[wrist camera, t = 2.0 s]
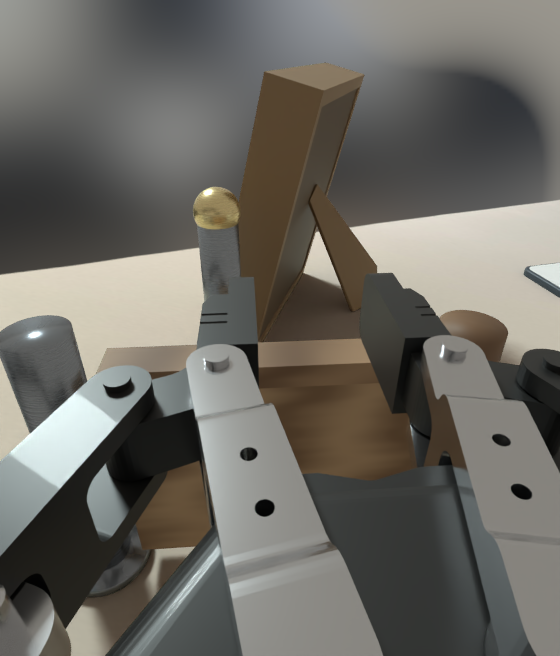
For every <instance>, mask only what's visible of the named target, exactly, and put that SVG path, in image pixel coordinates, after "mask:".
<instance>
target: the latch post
mask: <svg viewBox="0 0 560 656" xmlns="http://www.w3.org/2000/svg"><path fill="white" fill-rule="evenodd" d="M193 215H194V219H195V221H196V223H197V227H198V238H199V249H200V260H201V270H202V281H203V291H204V302H205V301H206V300H207V299H208V298H209V297H210V296H211V295H219V294H228V289H229V278H233V277H241V267H240V245H239V224H238V222H239V220H240V215H241V209H240V204H239V202H238V200H237V199H236V197H235V196H234V195H233V194H232V193H231V192H230V191H229V190H226V189H224V188H221V187H211V188H208V189H206V190H204V191H202V192H201V193H200V194H199V195H198V197H197V198H196V200H195V202H194V206H193Z"/></svg>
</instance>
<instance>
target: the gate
mask: <svg viewBox="0 0 560 656" xmlns="http://www.w3.org/2000/svg"><path fill="white" fill-rule="evenodd" d="M440 320H441V321H442V323H443V324H444V326H445V327H446V328H447V330H448V331H449V332H450V334H451V335H452V336H457V337H461V338H464V339H467V340H469V341H471V342H473V343H475V344H476V345H477V346H479V347H480V348H481V349H482V350H483V352H484V354H485V356H486V359H487V360H488V361H493V362H499V361H500V358H501V355H502V352H503V348H504V345H505V342H506V339H507V336H508V330H507V328H506V327H505V325H504V324H503V323H501V322H500V321H499V320H497V319H495V318H493V317H491V316H489V315H486V314H483V313H480V312H475V311H468V310H455V311H450V312H447V313H445V314H443V315H442V316H441V317H440ZM196 348H197V345H181V346H156V347H130V348H107V350H106V352H105V354H104V356H103V359H102V361H101V363H100V366H99V368H98V370H97V372H96V374H97V373H99V372H101V371H103V370H106V369H108V368H112V367H116V366H124V365H132V366H137V367H141V368H143V369H145V370H146V371H148V373H149V374H150V376H151V379H152V380H153V379H157V378H161V377H165V376H168V375H172V374H174V373H177V372H179V371H181V370H183V369H184V368H186V361H187V358H188V357H189V356H190V354H191V353H193V352H194V351H195V350H196ZM258 362H259V390H260V393H261V396H262V398H263V401H264V404H266V403H272V404H273V405H274V407H275V409H276V412H277V414H278V416H279V419H280V421H281V424H282V426H283V429H284V431H285V434H286V436H287V439H288V441H289V443H290V446H291V448H292V451H293V453H294V456H295V458H296V461H297V463H298V466H299V468H300V471H301V473H302V474H308V473H321V474H328V475H335V476H342V477H348V478H355V479H362V480H370V481H371V480H378V479H381V478H384V477H388V476H391V475H394V474H398V473H401V472H404V471H408V470H411V469H412V467H411V461H410V454H409V448H408V441H407V434H406V430H407V425H408V420H409V416H408V414H407V413H400V414H392V413H391V411H390V408H389V406H388V403H387V401H386V398H385V396H384V394H383V391H382V389H381V386H380V384H379V381H378V379H377V377H376V374H375V372H374V369H373V367H372V365H371V362H370V360H369V357H368V355H367V352H366V350H365V348H364V345H363V343H362V340H361V338H359V339H334V340H308V341H283V342H258ZM136 527H137V531H138V535H139V539H140V542H141V546H142V550H149V549H164V548H178V547H193V546H197V544H198V543H199V542H200V541H201V539H202V538H203V537H204V536H205V535H206V533H207V532H208V531H209V530H210V524H209V517H208V511H207V505H206V499H205V494H204V488H203V482H202V476H201V470H200V465H199V461H197V462H194V463H191V464H188V465H185V466H182V467H179V468H176V469H173V470H170V471H168V473H167V476H166V478H165V480H164V482H163V483H162V485H161V486H160V488H159V489H158V491H157V492H156V494H155V495H154V497H153V498H152V500H151V501H150V503H149V504H148V506H147V507H146V509H145V510H144V512H143V513H142V515H141V516H140V518H139V519H138V521H137V522H136Z"/></svg>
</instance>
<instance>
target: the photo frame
mask: <svg viewBox="0 0 560 656" xmlns="http://www.w3.org/2000/svg"><path fill="white" fill-rule="evenodd" d="M363 77H364V74H361V73H358V72H354V71H351V70H348V69H345V68H341V67H338V66H335V65H332V64H329V63H321V64H313V65H306V66H300V67H292V68H286V69H279V70H272V71H265V72H264V76H263V81H262V86H261V91H260V96H259V101H258V106H257V112H256V117H255V122H254V127H253V132H252V137H251V142H250V147H249V152H248V158H247V162H246V168H245V173H244V178H243V183H242V188H241V193H240V198H239V204H240V209H241V215H240V220H239V222H238V224H239V245H240V267H241V277H254V287H255V303H256V320H257V336H258V342H263V341H264V339H265V337H266V336H267V334H268V332H269V330H270V329H271V327H272V325H273V324H274V322H275V320H276V318H277V317H278V315H279V313H280V312H281V310H282V308H283V306H284V305H285V303H286V301H287V300H288V298H289V296H290V294H291V293H292V291H293V289H294V288H295V286H296V284H297V282H298V281H299V279H300V277H301V276H302V274H303V272H304V268H305V265H306V262H307V259H308V255H309V252H310V249H311V246H312V242H313V239H314V236H315V233H316V229H317V227H318V229H319V232H320V234H321V237H322V240H323V242H324V245H325V247H326V250H327V252H328V255H329V257H330V260H331V262H332V265H333V267H334V270H335V272H336V275H337V277H338V280H339V282H340V285H341V288H342V290H343V293H344V295H345V298H346V300H347V303H348V305H349V308H350V310H351V311H353V312H354V311H356V310H358V309H360V308H361V304H362V295H363V286H364V279H365V276H366V274H372V273H377V265H376V264H375V263H374V261H373V260H372V258H371V257H370V256H369V254H368V253H367V252H366V250H365V249H364V247H363V246H362V245H361V243H360V242H359V241H358V239H357V238H356V237H355V235H354V234H353V232H352V231H351V230H350V228H349V227H348V226H347V224H346V223H345V221H344V220H343V219H342V217H341V216H340V215H339V213H338V212H337V211H336V209H335V208H334V206H333V205H332V204H331V202H330V201H329V200H328V198H327V194H328V191H329V187H330V184H331V181H332V178H333V174H334V171H335V168H336V165H337V162H338V158H339V155H340V152H341V149H342V145H343V142H344V139H345V135H346V132H347V129H348V126H349V123H350V119H351V116H352V113H353V110H354V106H355V103H356V100H357V97H358V94H359V90H360V87H361V84H362V81H363Z"/></svg>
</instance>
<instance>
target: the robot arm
mask: <svg viewBox="0 0 560 656" xmlns="http://www.w3.org/2000/svg"><path fill="white" fill-rule="evenodd" d="M360 336H361V340H362V343H363V345H364V348H365V350H366V352H367V355H368V357H369V360H370V362H371V365H372V367H373V369H374V372H375V374H376V377H377V379H378V381H379V384H380V386H381V389H382V391H383V394H384V396H385V398H386V401H387V403H388V406H389V408H390V411H391V413H392V414H400V413H407V414H408V416H409V420H408V425H407V430H406V434H407V441H408V448H409V454H410V461H411V467H412V469H411V470H408V471H404V472H401V473H398V474H394V475H391V476H388V477H384V478H381V479H378V480H371V481H370V480H362V479H355V478H348V477H342V476H335V475H328V474H321V473H308V474H302V473H301V471H300V468H299V466H298V463H297V461H296V458H295V456H294V453H293V451H292V448H291V446H290V443H289V441H288V439H287V436H286V434H285V431H284V429H283V426H282V424H281V421H280V419H279V416H278V414H277V412H276V409H275V407H274V405H273V404H272V403H266V404H264V401H263V398H262V396H261V393H260V390H259V362H258V336H257V320H256V303H255V287H254V277H233V278H229V289H228V294H219V295H211V296H210V297H209V298H208V299H207V300H206V301H205V302H204V303H203V305H202V312H201V319H200V326H199V334H198V341H197V348H196V350H195V351H194V352H193V353H191V354H190V356H189V357H188V358H187V361H186V368H184V369H183V370H181V371H179V372H177V373H174V374H172V375H168V376H165V377H161V378H157V379H153V380H152V379H151V376H150V374H149V373H148V371H146V370H145V369H143V368H141V367H137V366H132V365H124V366H116V367H112V368H108V369H106V370H103V371H101V372H99V373H97V374H96V375H94V376H93V377H92V378H90V379H89V380H88V381H87V382H86V383H85V384H84V385H83V386H82V387H81V388H80V389H78V390H77V391H76V392H75V393H74V394H73V395H72V396H71V397H70V398H69V399H68V400H66V401H65V402H64V403H63V404H62V405H61V406H60V407H59V408H58V409H57V410H56V411H54V412H53V413H52V414H51V415H50V416H49V417H48V418H47V419H46V420H45V421H44V422H42V423H41V424H40V425H39V426H38V427H37V428H36V429H35V430H34V431H33V432H32V433H30V434H29V435H28V436H27V437H26V438H25V439H24V440H23V441H22V442H21V443H20V444H18V445H17V446H16V447H15V448H14V449H13V450H12V451H11V452H10V453H9V454H8V455H6V456H5V457H4V458H3V459H2V460H1V461H0V656H71V643H70V639H69V636H68V633H67V631H66V628H67V626H68V625H69V623H70V622H71V620H72V619H73V617H74V616H75V614H76V612H77V611H78V609H79V608H80V606H81V605H82V603H83V602H84V600H85V599H86V597H87V596H88V594H89V593H90V591H91V590H92V588H93V587H94V585H95V584H96V582H97V581H98V579H99V578H100V576H101V575H102V573H103V572H104V570H105V569H106V567H107V566H108V564H109V563H110V561H111V560H112V558H113V557H114V555H115V554H116V552H117V551H118V549H119V548H120V546H121V545H122V543H123V542H124V540H125V539H126V537H127V536H128V534H129V533H130V531H131V530H132V528H133V527H134V525H135V524H136V522H137V521H138V519H139V518H140V516H141V515H142V513H143V512H144V510H145V509H146V507H147V506H148V504H149V503H150V501H151V500H152V498H153V497H154V495H155V494H156V492H157V491H158V489H159V488H160V486H161V485H162V483H163V482H164V480H165V478H166V476H167V473H168V471H170V470H173V469H176V468H179V467H182V466H185V465H188V464H191V463H194V462H197V461H199V465H200V470H201V476H202V482H203V488H204V494H205V499H206V505H207V511H208V517H209V524H210V530H209V531H208V532H207V533H206V535H205V536H204V537H203V538H202V539H201V541H200V542H199V543H198V544H197V546H196V547H195V548H194V549H193V550H192V552H191V553H190V554H189V555H188V556H187V558H186V559H185V560H184V561H183V562H182V564H181V565H180V566H179V567H178V569H177V570H176V571H175V572H174V573H173V575H172V576H171V577H170V578H169V579H168V581H167V582H166V583H165V584H164V585H163V587H162V588H161V589H160V590H159V592H158V593H157V594H156V595H155V596H154V598H153V599H152V600H151V601H150V602H149V604H148V605H147V606H146V607H145V608H144V610H143V611H142V612H141V613H140V614H139V616H138V617H137V618H136V619H135V621H134V622H133V623H132V624H131V625H130V627H129V628H128V629H127V630H126V631H125V633H124V634H123V635H122V636H121V637H120V639H119V640H118V641H117V642H116V643H115V645H114V646H113V647H112V648H111V649H110V651H109V652H108V653H107V654H106V655H105V656H560V352H559V351H555V350H550V349H533V350H530V351H528V352H526V353H525V354H524V355H523V357H522V360H521V363H520V366H519V365H513V364H506V363H499V362H493V361H488V360H487V359H486V356H485V354H484V352H483V350H482V349H481V348H480V347H479V346H477V345H476V344H475V343H473V342H471V341H469V340H467V339H464V338H461V337H457V336H452V335H451V334H450V332H449V331H448V330H447V328H446V327H445V326H444V324H443V323H442V321H441V320H440V319H439V317H438V316H436V313H435V312H434V311H433V309H432V308H430V305H429V304H428V302H427V301H426V300H425V298H424V297H423V296H422V295H420V294H418V293H417V292H415V291H414V290H412V289H410V288H409V289H403V288H402V286H401V285H400V283H399V282H398V280H397V279H396V277H395V276H394V274H393V273H372V274H366V276H365V279H364V286H363V295H362V304H361V313H360Z"/></svg>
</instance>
